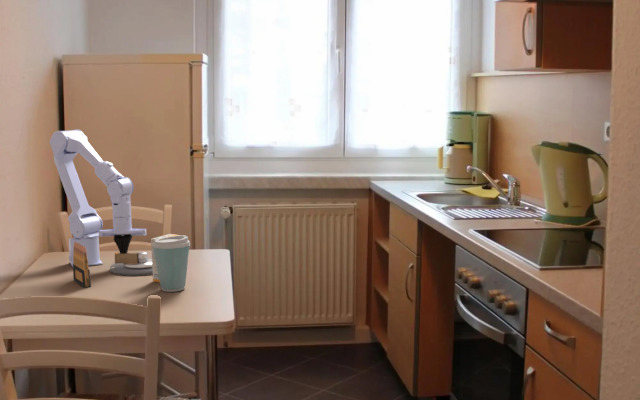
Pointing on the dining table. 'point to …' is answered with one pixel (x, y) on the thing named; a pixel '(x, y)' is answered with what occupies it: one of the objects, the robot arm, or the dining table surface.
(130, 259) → the dial
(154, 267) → the supplement box
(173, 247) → the disposable coffee cup
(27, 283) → the dining table surface
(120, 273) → the dial base
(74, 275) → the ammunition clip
